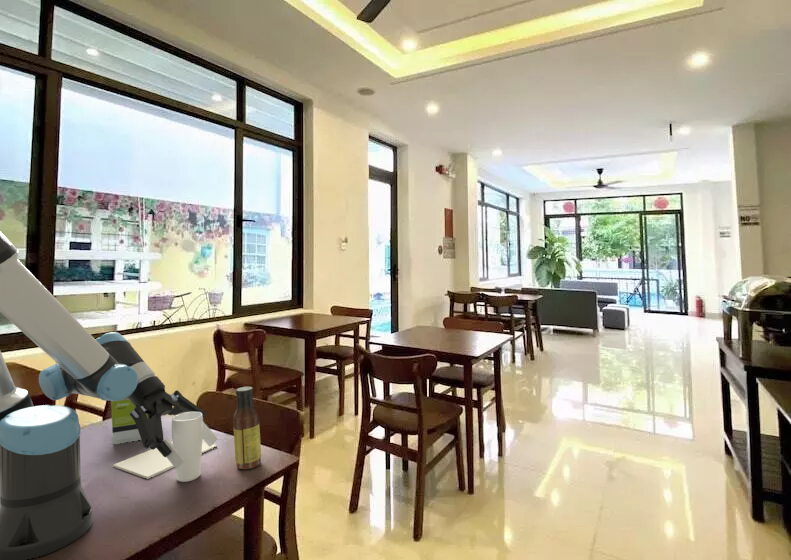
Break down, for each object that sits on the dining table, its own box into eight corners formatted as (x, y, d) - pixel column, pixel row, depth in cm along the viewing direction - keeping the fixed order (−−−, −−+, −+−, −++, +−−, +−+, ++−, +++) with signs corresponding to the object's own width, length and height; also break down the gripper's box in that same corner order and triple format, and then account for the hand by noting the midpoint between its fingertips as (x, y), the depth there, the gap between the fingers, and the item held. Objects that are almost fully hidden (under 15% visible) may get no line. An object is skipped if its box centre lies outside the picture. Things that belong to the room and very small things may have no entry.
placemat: (147, 479, 100) (147, 476, 100) (113, 466, 107) (113, 464, 107) (217, 447, 118) (217, 445, 118) (184, 438, 125) (184, 436, 125)
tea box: (120, 427, 134) (119, 381, 133) (157, 422, 138) (155, 377, 137) (111, 445, 120) (110, 394, 119) (152, 439, 124) (151, 389, 124)
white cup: (191, 486, 97) (190, 422, 97) (166, 483, 99) (164, 420, 98) (209, 472, 104) (208, 412, 103) (185, 469, 105) (184, 410, 105)
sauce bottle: (264, 459, 110) (263, 384, 110) (256, 471, 104) (254, 391, 104) (239, 459, 111) (238, 384, 110) (230, 471, 104) (228, 391, 104)
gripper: (167, 382, 115) (218, 442, 113) (89, 411, 92) (150, 487, 90) (184, 364, 114) (236, 424, 111) (108, 388, 91) (171, 465, 88)
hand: (198, 453), depth 101 cm, fingers open, 11 cm apart
